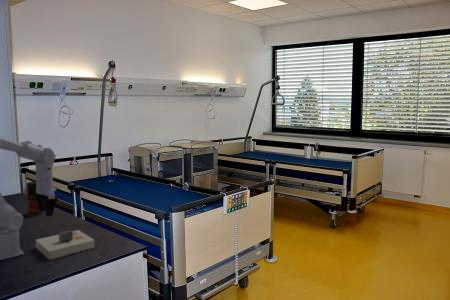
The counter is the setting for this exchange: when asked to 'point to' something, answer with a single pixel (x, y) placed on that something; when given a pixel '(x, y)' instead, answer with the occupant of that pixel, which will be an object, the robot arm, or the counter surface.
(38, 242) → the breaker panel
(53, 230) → the counter surface
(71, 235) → the handle
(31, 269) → the counter surface
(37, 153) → the robot arm
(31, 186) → the deodorant
